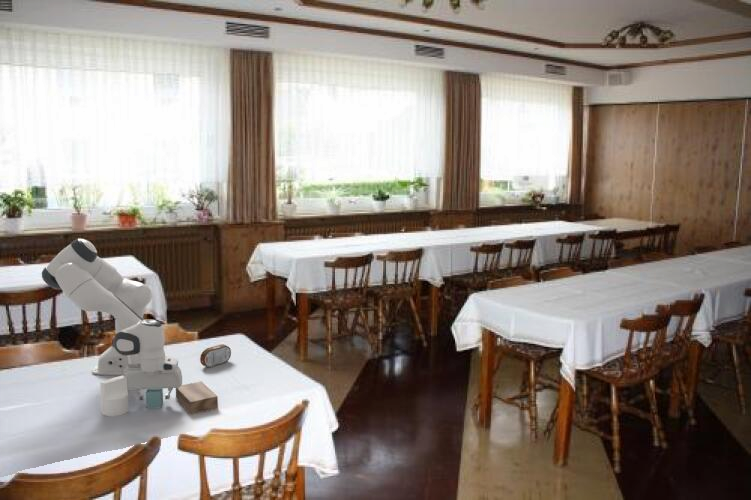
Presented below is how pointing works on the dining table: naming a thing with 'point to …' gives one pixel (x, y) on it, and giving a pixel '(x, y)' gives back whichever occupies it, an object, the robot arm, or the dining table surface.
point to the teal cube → (154, 398)
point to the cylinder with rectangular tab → (114, 396)
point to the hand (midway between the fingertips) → (154, 399)
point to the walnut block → (196, 397)
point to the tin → (215, 355)
